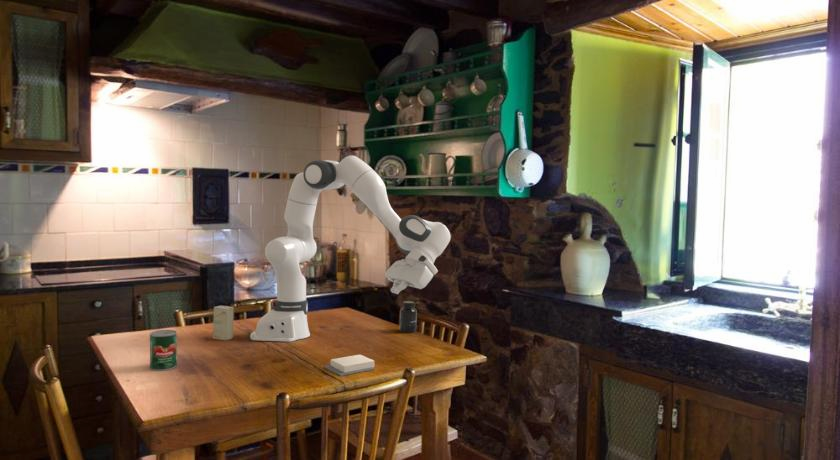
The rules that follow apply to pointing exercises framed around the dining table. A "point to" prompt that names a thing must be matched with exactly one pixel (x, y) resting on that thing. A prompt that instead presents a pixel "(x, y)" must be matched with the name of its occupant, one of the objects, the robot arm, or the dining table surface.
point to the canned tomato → (163, 350)
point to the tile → (352, 363)
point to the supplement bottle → (408, 317)
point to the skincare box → (223, 322)
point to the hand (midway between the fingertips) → (393, 292)
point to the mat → (346, 372)
